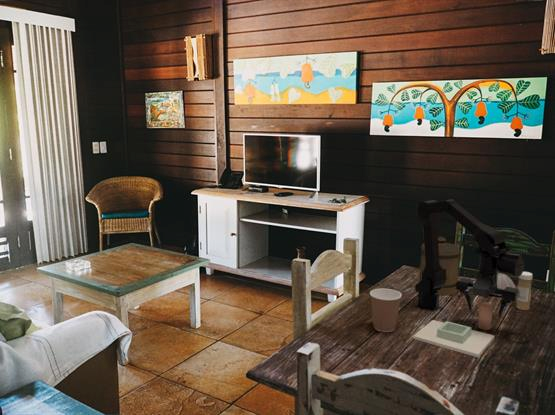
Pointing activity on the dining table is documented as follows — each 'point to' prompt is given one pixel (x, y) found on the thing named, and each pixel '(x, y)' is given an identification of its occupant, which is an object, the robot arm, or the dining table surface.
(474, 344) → the socket board
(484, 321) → the terracotta peg
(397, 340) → the dining table surface
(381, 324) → the coffee cup
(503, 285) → the sea urchin shell
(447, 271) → the wooden container
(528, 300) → the sprinkles bottle
